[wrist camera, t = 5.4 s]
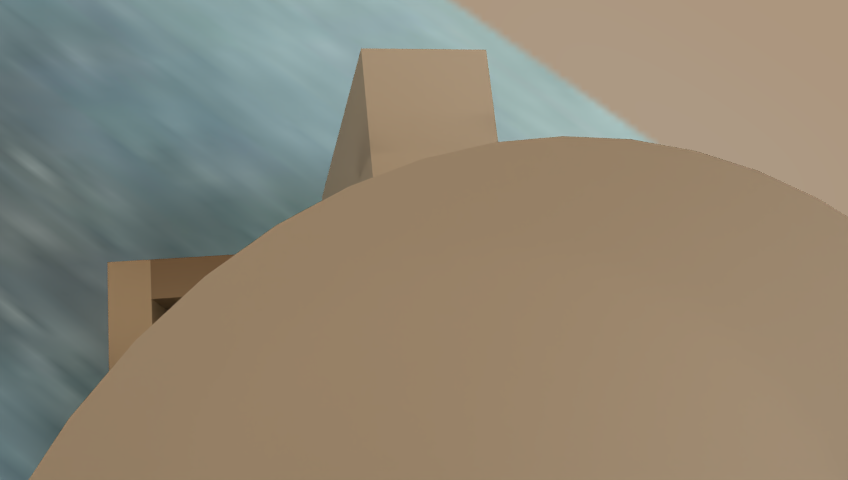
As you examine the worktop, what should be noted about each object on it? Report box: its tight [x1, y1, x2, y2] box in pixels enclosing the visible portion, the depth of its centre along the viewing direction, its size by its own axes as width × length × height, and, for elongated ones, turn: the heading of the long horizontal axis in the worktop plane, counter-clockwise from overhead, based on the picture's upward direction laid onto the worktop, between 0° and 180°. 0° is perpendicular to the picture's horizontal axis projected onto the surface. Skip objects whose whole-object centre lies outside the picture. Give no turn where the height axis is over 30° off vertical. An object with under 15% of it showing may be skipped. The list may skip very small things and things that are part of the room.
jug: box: [29, 49, 848, 480], centre depth 9 cm, size 8×6×12 cm
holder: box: [108, 255, 234, 371], centre depth 15 cm, size 9×9×2 cm
